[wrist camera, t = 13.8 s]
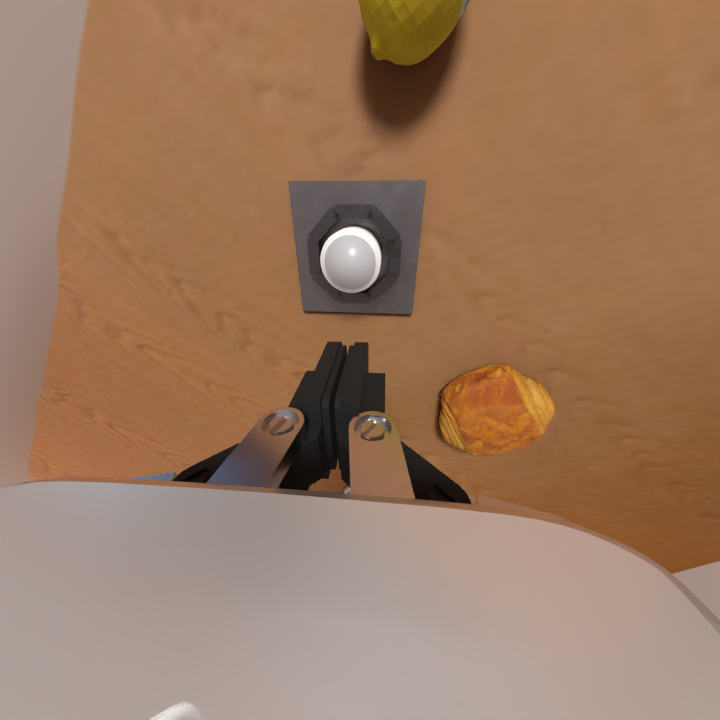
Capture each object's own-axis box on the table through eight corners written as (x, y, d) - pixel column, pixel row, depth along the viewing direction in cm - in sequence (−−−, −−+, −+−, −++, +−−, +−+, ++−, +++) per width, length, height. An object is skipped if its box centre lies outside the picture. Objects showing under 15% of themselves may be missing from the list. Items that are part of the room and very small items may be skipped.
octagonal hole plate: (411, 312, 34) (413, 321, 31) (304, 308, 35) (297, 317, 32) (424, 181, 27) (429, 178, 24) (290, 181, 28) (280, 179, 25)
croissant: (537, 412, 43) (574, 450, 36) (444, 444, 46) (462, 485, 39) (526, 338, 37) (569, 367, 30) (419, 380, 39) (435, 416, 32)
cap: (380, 281, 32) (379, 295, 27) (330, 280, 32) (321, 292, 28) (383, 225, 29) (382, 229, 24) (328, 224, 29) (317, 228, 25)
